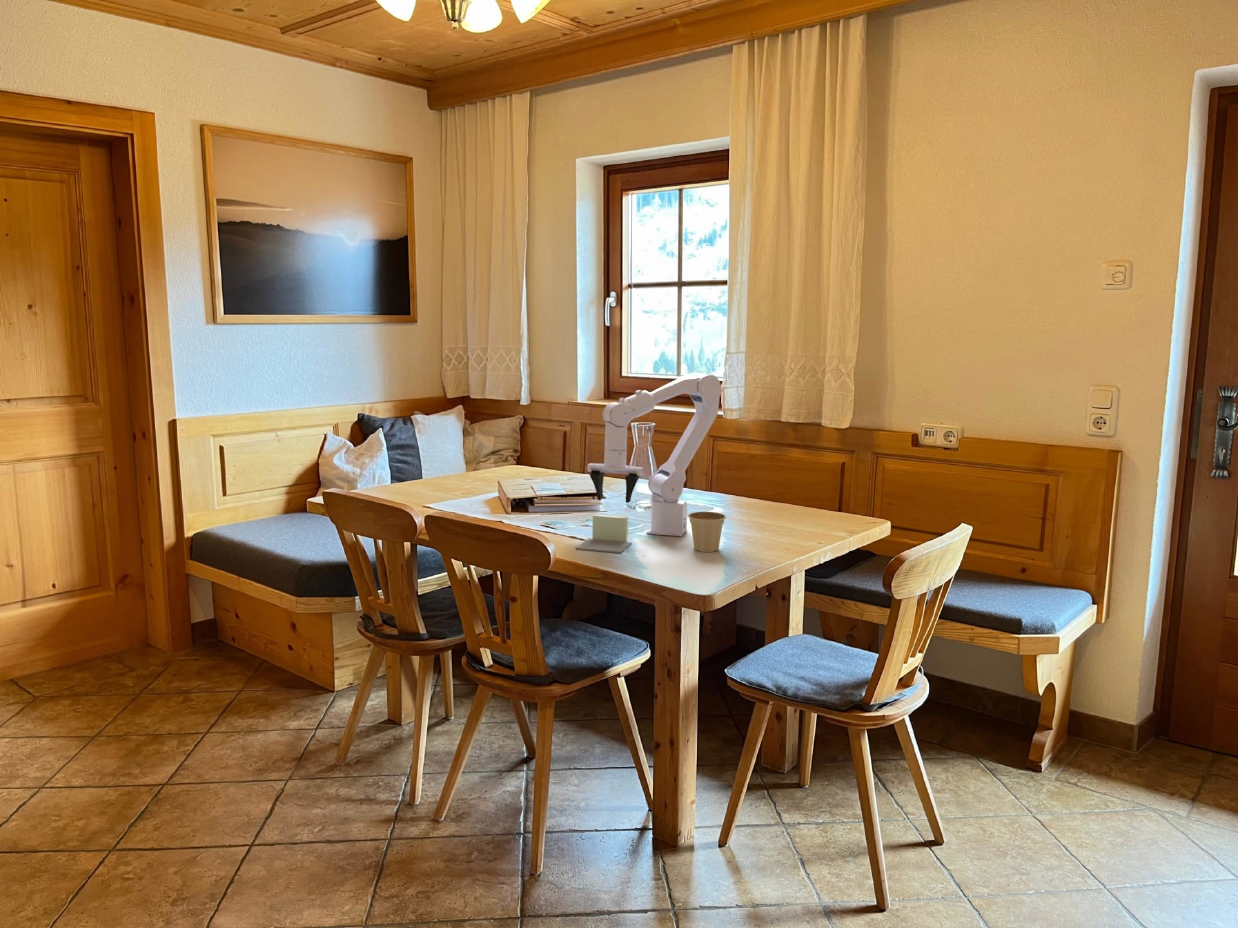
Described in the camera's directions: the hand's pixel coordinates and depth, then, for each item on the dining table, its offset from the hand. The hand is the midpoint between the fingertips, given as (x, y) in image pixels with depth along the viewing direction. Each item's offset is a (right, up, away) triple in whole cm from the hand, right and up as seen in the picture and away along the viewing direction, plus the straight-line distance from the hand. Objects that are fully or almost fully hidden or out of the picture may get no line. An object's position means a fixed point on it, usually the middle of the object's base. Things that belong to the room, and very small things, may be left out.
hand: (613, 500), depth 242 cm
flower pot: (+23, -12, -10) cm, 28 cm away
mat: (-2, -11, -9) cm, 15 cm away
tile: (-1, -10, -4) cm, 11 cm away
